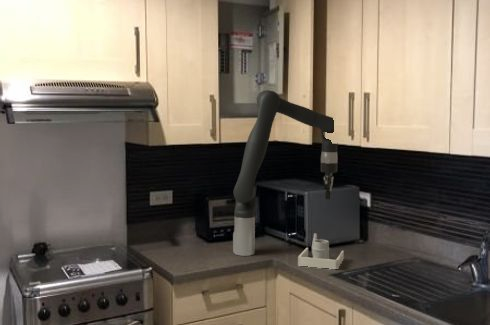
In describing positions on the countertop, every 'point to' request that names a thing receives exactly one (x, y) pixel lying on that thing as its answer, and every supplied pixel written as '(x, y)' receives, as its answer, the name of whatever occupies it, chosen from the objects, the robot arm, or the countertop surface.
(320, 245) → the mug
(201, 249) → the countertop surface
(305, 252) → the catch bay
